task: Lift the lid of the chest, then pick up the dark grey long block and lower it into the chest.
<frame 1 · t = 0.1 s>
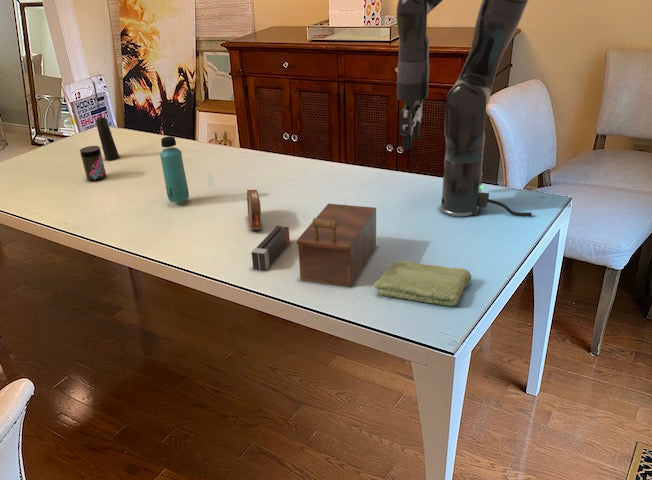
hand: (410, 143, 159), 17 cm above the table, tool pointing down, fingers open, 8 cm apart
beverage bottle: (179, 203, 186), on the table
tin: (255, 224, 168), on the table
washcloth: (422, 288, 132), on the table
butter churn: (110, 158, 231), on the table
dark grey long block: (272, 255, 151), on the table
chest: (339, 262, 145), on the table
lid: (337, 215, 138), point 12 cm above the table, hinge at 0.0°
supplement container: (97, 179, 213), on the table
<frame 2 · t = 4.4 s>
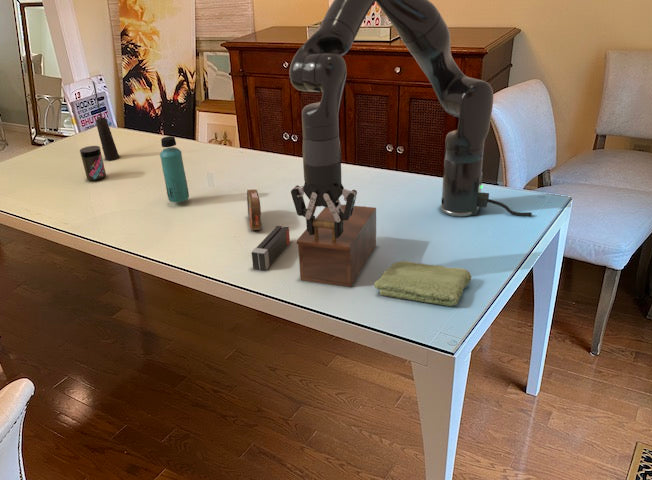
hand: (325, 234, 132), 11 cm above the table, tool pointing down, fingers closed on lid, 5 cm apart
lid: (337, 215, 138), point 12 cm above the table, hinge at -0.1°, touching gripper
everything else where it was.
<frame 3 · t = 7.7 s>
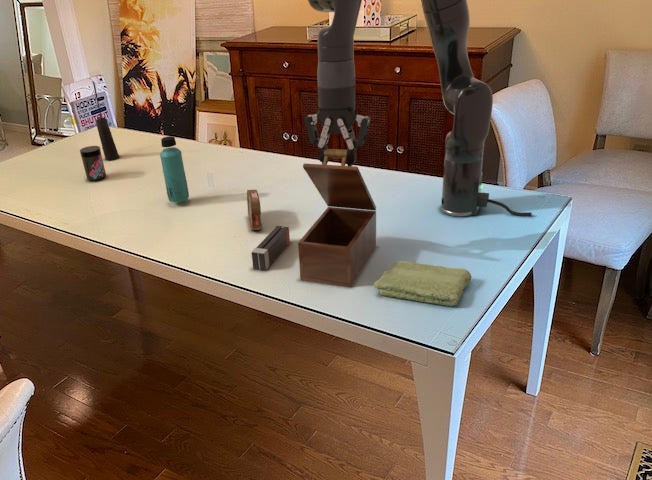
hand: (337, 164, 133), 24 cm above the table, tool pointing down, fingers closed on lid, 5 cm apart
lid: (343, 178, 138), point 19 cm above the table, hinge at 46.9°, touching gripper
everything else where it was.
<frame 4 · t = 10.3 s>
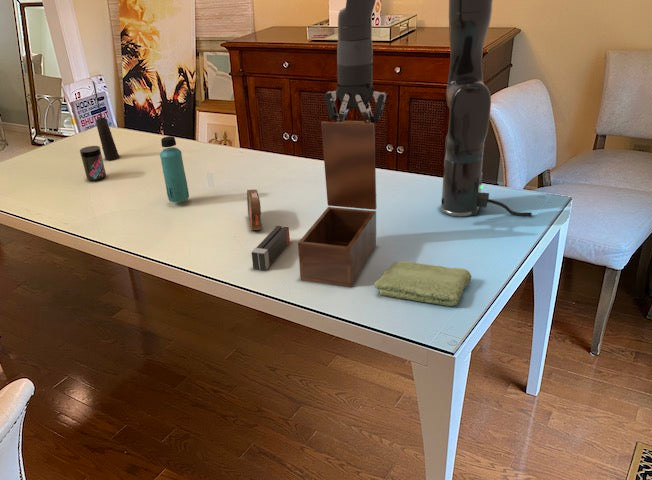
hand: (355, 138, 142), 25 cm above the table, tool pointing down, fingers closed on lid, 5 cm apart
lid: (352, 162, 143), point 20 cm above the table, hinge at 84.5°, touching gripper
everything else where it was.
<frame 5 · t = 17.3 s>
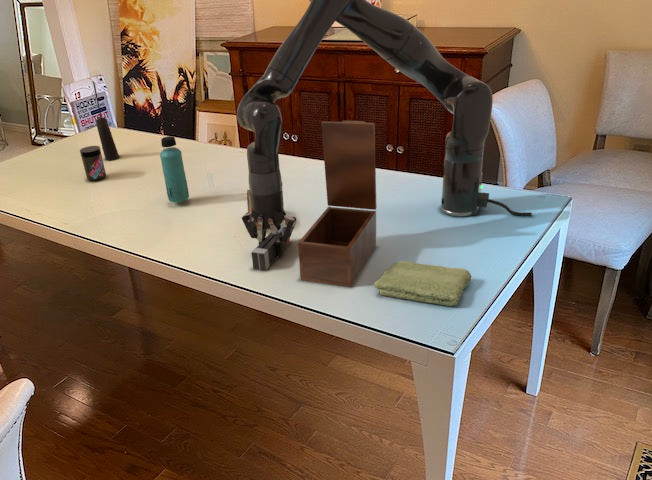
hand: (272, 254, 151), 0 cm above the table, tool pointing down, fingers closed on dark grey long block, 3 cm apart
dark grey long block: (272, 255, 151), on the table, touching gripper
lid: (352, 162, 143), point 20 cm above the table, hinge at 84.7°
everything else where it was.
when the fingers open (4 cm above the table, at t = 26.2 s): dark grey long block drops 3 cm, resting on chest.
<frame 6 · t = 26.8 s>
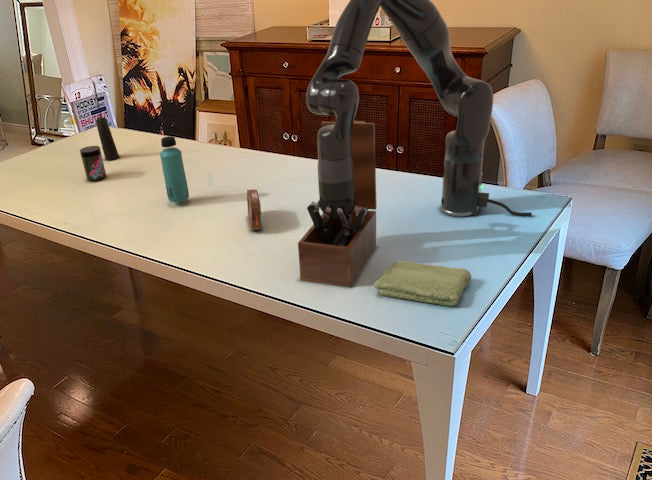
hand: (338, 246, 142), 4 cm above the table, tool pointing down, fingers open, 3 cm apart
dark grey long block: (338, 260, 144), point 1 cm above the table, touching chest
everything else where it was.
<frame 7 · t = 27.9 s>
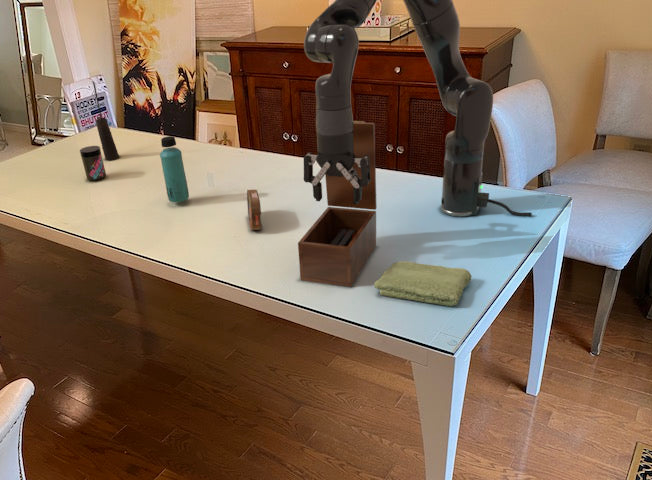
hand: (337, 201, 136), 16 cm above the table, tool pointing down, fingers open, 8 cm apart
nothing on the table moved.
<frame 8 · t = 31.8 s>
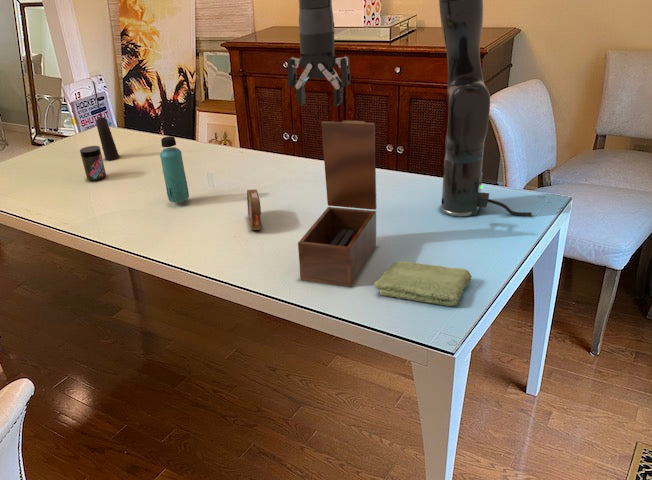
hand: (319, 104, 144), 32 cm above the table, tool pointing down, fingers open, 8 cm apart
nothing on the table moved.
at the end: lid at +85° (first picture: +0°); dark grey long block inside the target area in the chest (0.5 cm from its centre), point 0.9 cm above the chest's base; the gripper is holding nothing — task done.
